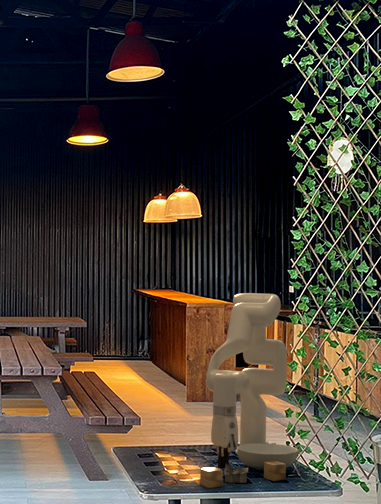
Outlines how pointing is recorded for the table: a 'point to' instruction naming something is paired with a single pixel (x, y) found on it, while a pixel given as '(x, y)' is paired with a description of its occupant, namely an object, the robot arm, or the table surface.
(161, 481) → the table surface
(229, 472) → the tan cratered rock
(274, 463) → the maple block
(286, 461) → the serving bowl
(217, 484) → the maple block
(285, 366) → the robot arm
